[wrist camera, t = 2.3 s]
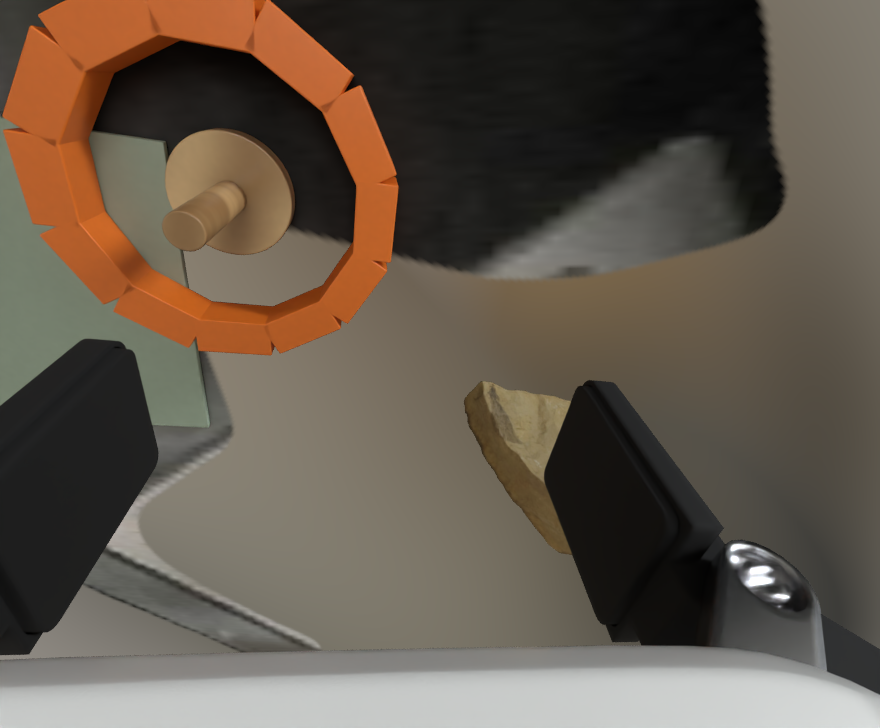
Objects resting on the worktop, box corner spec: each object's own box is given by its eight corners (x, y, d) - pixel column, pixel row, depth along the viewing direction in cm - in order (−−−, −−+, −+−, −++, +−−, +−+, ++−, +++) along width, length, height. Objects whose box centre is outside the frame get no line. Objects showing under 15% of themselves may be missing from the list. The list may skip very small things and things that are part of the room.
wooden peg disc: (182, 242, 24) (115, 294, 18) (162, 117, 21) (75, 132, 15) (296, 255, 25) (268, 309, 19) (294, 138, 22) (260, 160, 16)
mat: (-96, 408, 28) (-102, 412, 27) (-307, 69, 18) (-320, 69, 18) (210, 424, 31) (208, 427, 30) (166, 141, 21) (162, 142, 21)
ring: (93, 322, 25) (69, 343, 23) (-14, -60, 17) (-66, -79, 15) (379, 342, 28) (380, 362, 26) (410, 31, 20) (415, 25, 18)
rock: (422, 427, 30) (491, 518, 34) (507, 458, 23) (582, 569, 27) (517, 329, 34) (569, 420, 38) (614, 329, 27) (665, 442, 31)
